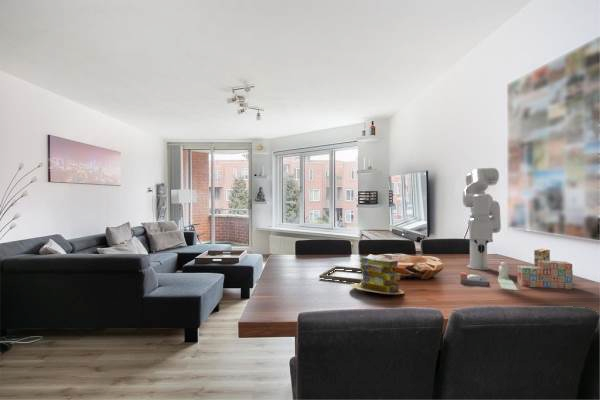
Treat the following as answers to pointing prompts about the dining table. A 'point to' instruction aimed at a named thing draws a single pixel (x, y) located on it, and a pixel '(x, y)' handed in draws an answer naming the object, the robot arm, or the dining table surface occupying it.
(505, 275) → the pawn
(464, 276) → the grey stepped block
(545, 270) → the stack of blocks
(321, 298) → the dining table surface
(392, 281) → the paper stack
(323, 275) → the frame
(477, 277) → the dome
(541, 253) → the candy box
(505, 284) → the track
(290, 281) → the dining table surface
